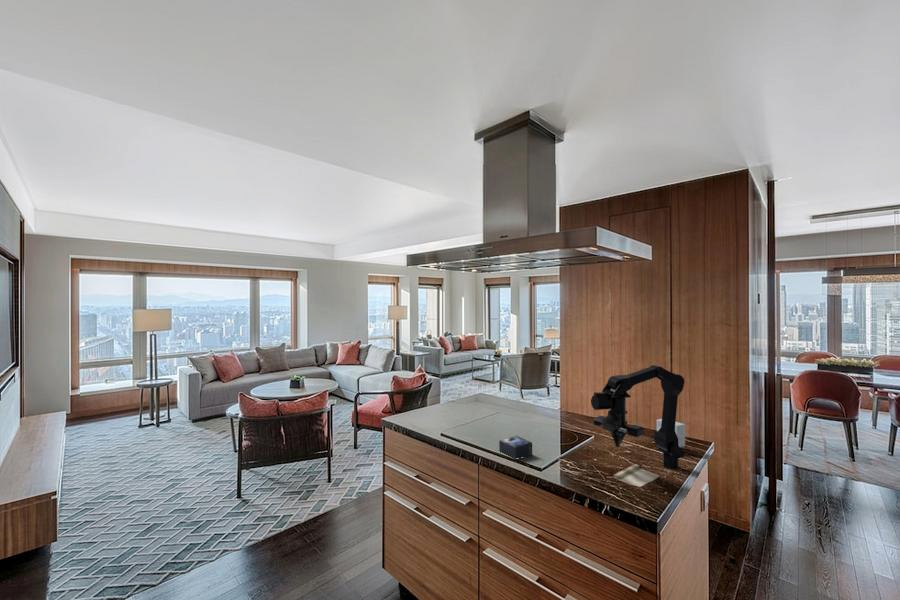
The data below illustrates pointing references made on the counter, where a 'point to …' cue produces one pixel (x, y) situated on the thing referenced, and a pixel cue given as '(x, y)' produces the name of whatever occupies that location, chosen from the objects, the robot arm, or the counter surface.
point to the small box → (515, 447)
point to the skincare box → (678, 429)
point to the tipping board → (635, 476)
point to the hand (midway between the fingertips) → (617, 446)
